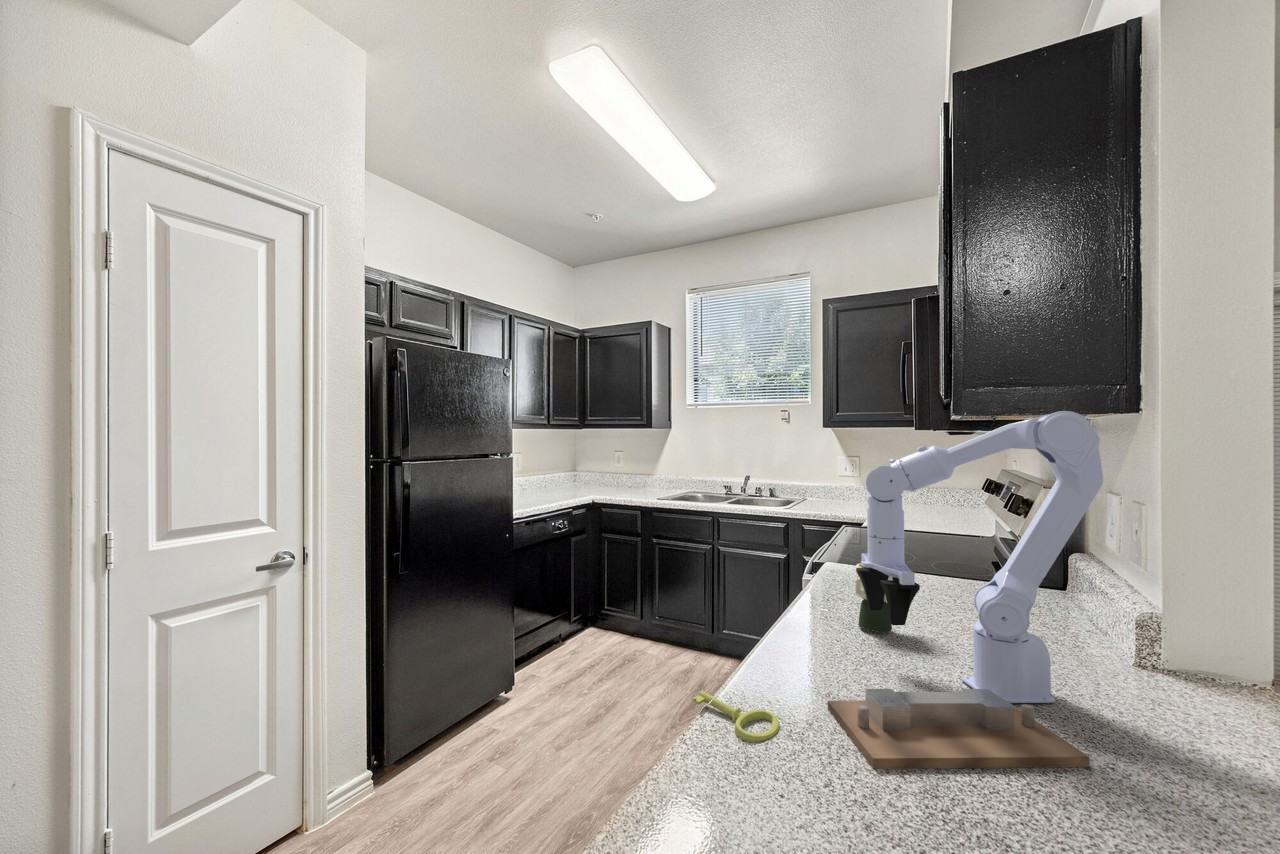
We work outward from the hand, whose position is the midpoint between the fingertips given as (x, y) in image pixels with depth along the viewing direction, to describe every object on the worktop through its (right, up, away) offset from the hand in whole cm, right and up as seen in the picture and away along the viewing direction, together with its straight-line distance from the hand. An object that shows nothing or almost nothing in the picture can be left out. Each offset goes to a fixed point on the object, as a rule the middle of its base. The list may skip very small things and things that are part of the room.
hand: (886, 616), depth 90 cm
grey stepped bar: (-2, -7, -19) cm, 20 cm away
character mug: (+7, -10, +19) cm, 22 cm away
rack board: (-2, -8, -20) cm, 22 cm away
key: (-28, -9, -17) cm, 34 cm away
